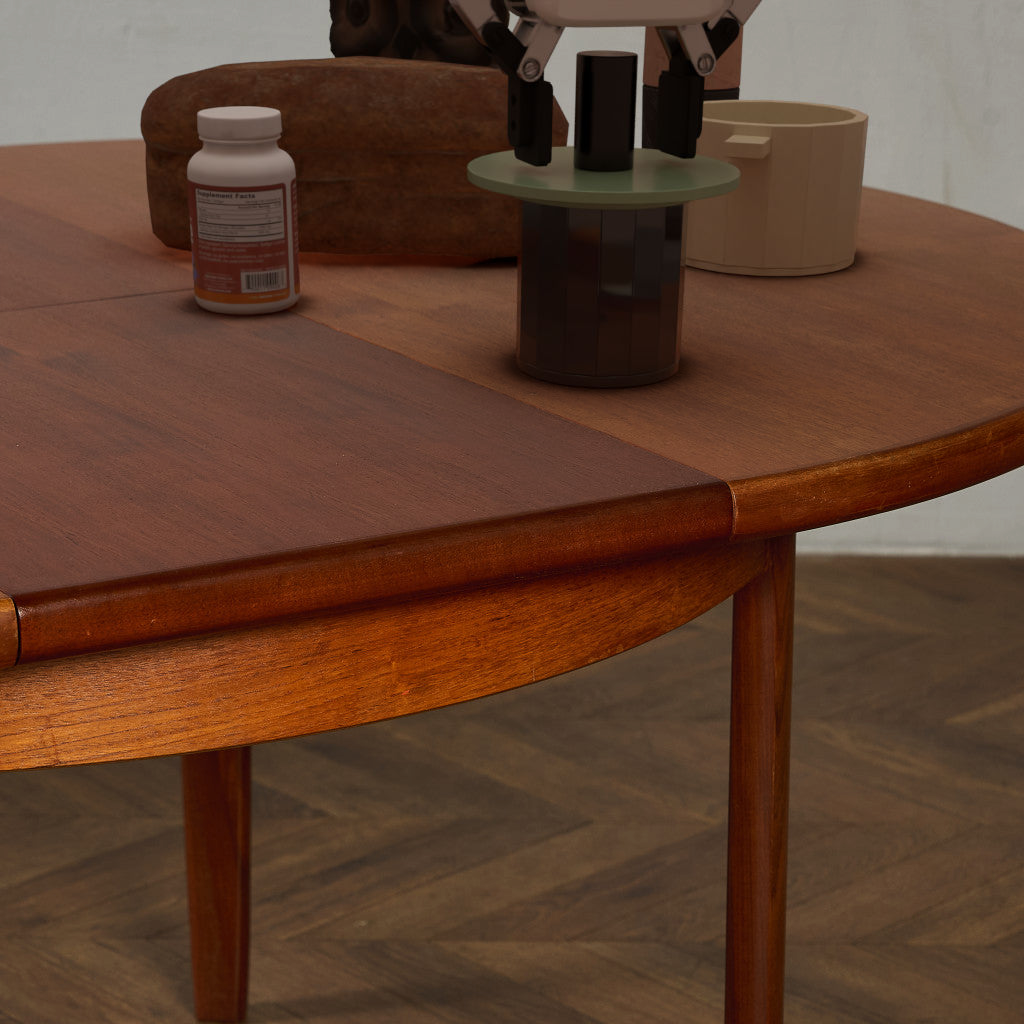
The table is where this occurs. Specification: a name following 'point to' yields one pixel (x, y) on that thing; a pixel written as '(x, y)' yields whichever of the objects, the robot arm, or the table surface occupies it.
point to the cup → (600, 294)
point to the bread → (355, 151)
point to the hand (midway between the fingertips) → (605, 156)
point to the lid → (605, 153)
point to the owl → (407, 31)
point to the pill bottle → (243, 213)
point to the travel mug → (716, 85)
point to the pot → (780, 188)
